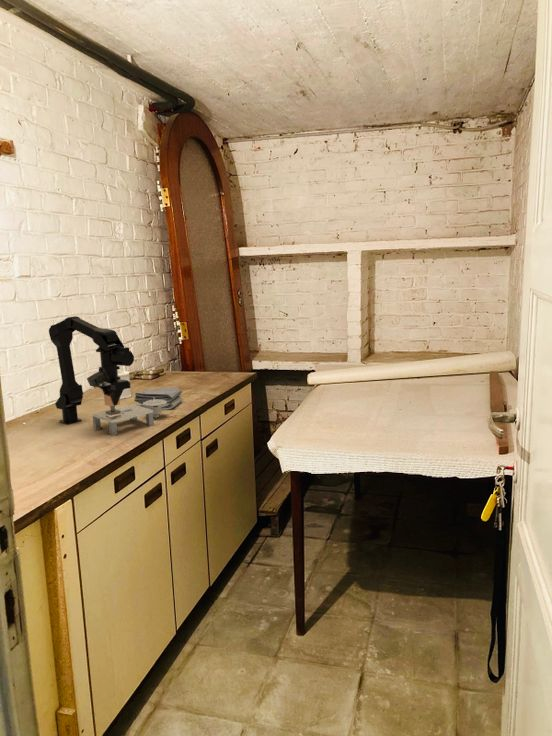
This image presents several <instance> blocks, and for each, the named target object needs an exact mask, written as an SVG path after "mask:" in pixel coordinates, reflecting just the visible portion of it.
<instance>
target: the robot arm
mask: <svg viewBox="0 0 552 736" xmlns="http://www.w3.org/2000/svg"><path fill="white" fill-rule="evenodd" d="M75 331H77V332H78V333H81V334H83V335H85V336H87V337H89V339H92V341H93V343H94V344H96V345H97V346H98V348H97V349H96V350H95V352H96V353H99V356H100V366H99V367H98V372H97V371H96V372H95V373H93V374H92V375H90V376H88V377H87V378H86V380H87V382H88V384H89V386H90V387H93V388H99V389H100V390H101V391H102V393H103V395H104V394H109V393H111V394H112V399H113V404H114V406H115V407H116V406H118V405H117V404H118V401H119V400H121V399H120V396H121V394H122V392H123V390H124V389H127V388H130V389H131V382H129V381H130V380H129V381H127V380H121V379H120V377H118V370H117V369H120V367H119V366H117V365H121V367H122V366H123V367H130V366H132V364H133V363H134V361H135V356H134V354H133V352H132V351H131V350H130V347H127V346H126V347H125V345H124V343H123V342H122V340H121V338H120V337H119V336H118V334H117V332H116V331H115V330H113V329H109V328H103V327H98V326H97V325H94V324H92V323H90V322H88V321H86V320H84V319H82V318H80V317H79V316H68V317H66V318H64V319H63V320H61V321H59V322H57V323H55V324H52V325H50V328H48V333H49V337H50V338H49V339H50V341H51V343H52V344H53V345H54V346H55V347H56V353H57V359H58V364H59V370H60V376H61V381H62V383H61V386H60V389H59V397H58V399H57V400H56V402H55V404H54V405H55V407H56V409H57V410H61V413H62V414H61V415H62V419H60V420H59V422H60V423H63V424H65V425H70V424H74V423H77V422H78V423H79V422H82V421H81V420H82V419H81V418H79V415H78V408H77V406H82V403H83V399H84V398H83V397H84V391H83V385H82V384H79V383H78V381H76V377H75V376H76V375H75V371H74V370H75V368H74V364H73V358H72V356H73V355H72V351H71V343H72V340H73V339H74V338H73V337H74V336H73V333H74V332H75ZM117 380H118V381H117ZM73 422H74V423H73ZM69 423H70V424H69Z"/></svg>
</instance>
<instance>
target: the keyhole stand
mask: <svg viewBox="0 0 552 736" xmlns="http://www.w3.org/2000/svg"><path fill="white" fill-rule="evenodd" d="M115 409H117V410H120V412H121V413H119V414H116V415H112V416H110V415H108V414H106V411H108V410H109V409H107V410H102V411H99V412H94V413H92V422H93V423H92V425H93V429H94V428H95V429H94V430H96V429H97V430H100V429H99V428H101V429H102V423H101V420H102V421H105V422H108V428H109V429H108V430H109V431H108V432H109V435H110V436H111V435H112V437H113V435H114V436H117V435H118V424H117V423H118V422H120V421H125V420H129V419H131V420H130V421H136V420H135V419H137V420H138V417H140V416H144V415H145V420H146V426H148V425H151V426H154V425H155V422H154V421H155V420H154V419H155V418H153V410H151V409H148V408H144V407H141V406H138V405H137V404H134V403H132V404H129V405H128V404H127V405H124V406H120V407H115ZM153 424H154V425H153Z"/></svg>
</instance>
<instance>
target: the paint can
mask: <svg viewBox="0 0 552 736" xmlns="http://www.w3.org/2000/svg"><path fill="white" fill-rule="evenodd" d="M117 366H119V367H120V369H117V370H118V377H120V379H121V380H127V381H129V382H130V381H131V380H130V371H125V370H126V367H124V368H123V367H122V366H121V365H117ZM117 381H118V380H117ZM130 383H131V382H130ZM131 393H132V392H131V388H127V389H124V390H123V392H122V394H121V396H120V399H119V400H125V399H124V398H126V399H129V398H131V397H132V394H131Z"/></svg>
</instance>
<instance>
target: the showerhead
mask: <svg viewBox="0 0 552 736" xmlns="http://www.w3.org/2000/svg"><path fill="white" fill-rule="evenodd" d="M166 405H167V401H166V400H163V399H162V400H161V399H155V398H154V400H148V401H145V402H144V403H143V407H145V408H149V409H151V410H153V417H155V418H154V419H157V417H158V418H159V416H160V415H159V414H161V413H162V411H163V410H161V407H164V406H166Z"/></svg>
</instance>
